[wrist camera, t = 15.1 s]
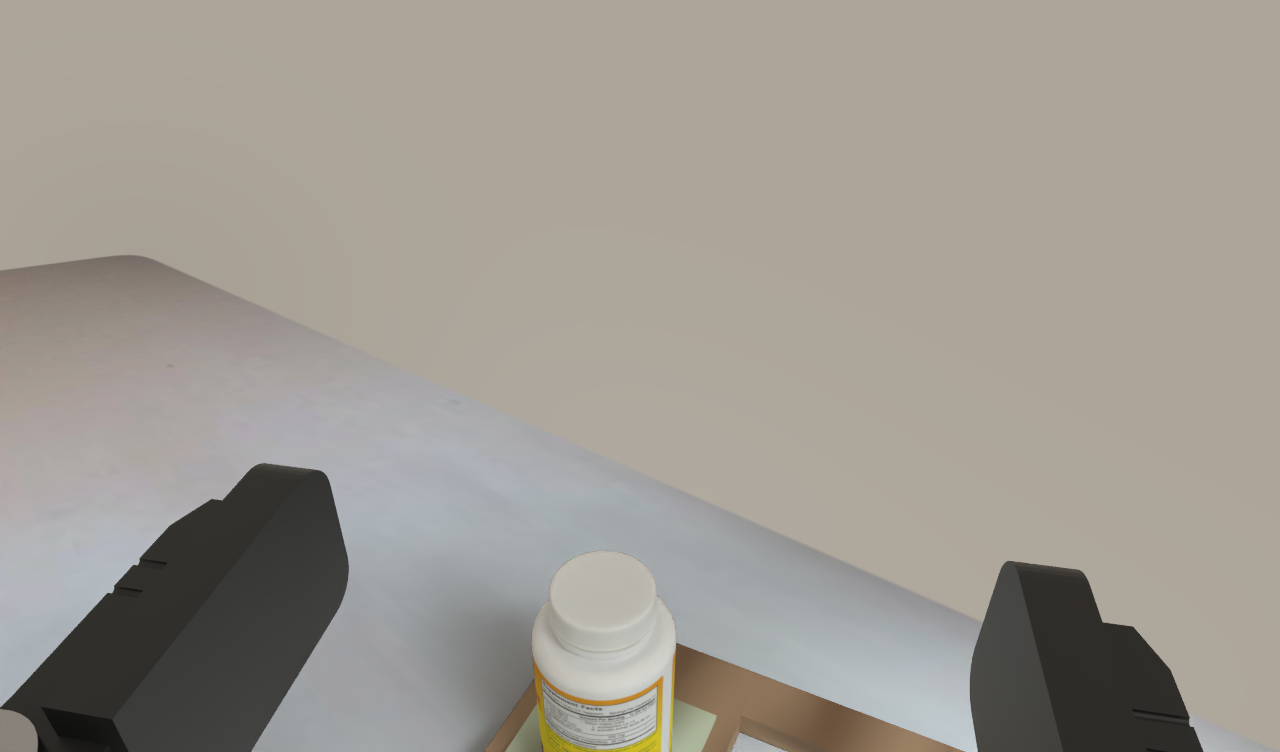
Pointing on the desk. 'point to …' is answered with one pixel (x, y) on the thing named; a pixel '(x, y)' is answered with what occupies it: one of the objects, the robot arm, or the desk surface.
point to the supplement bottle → (604, 658)
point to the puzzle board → (741, 716)
